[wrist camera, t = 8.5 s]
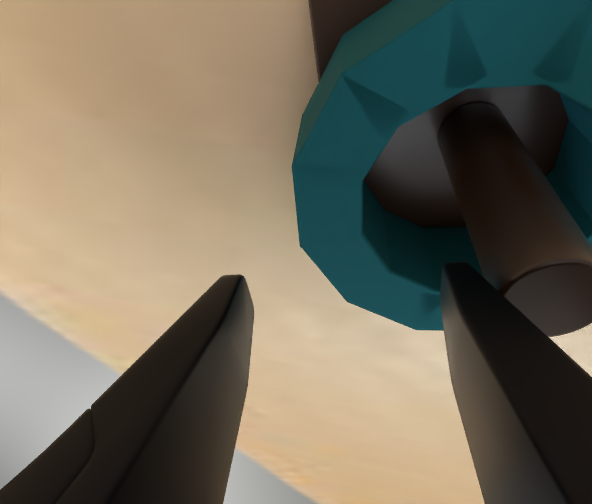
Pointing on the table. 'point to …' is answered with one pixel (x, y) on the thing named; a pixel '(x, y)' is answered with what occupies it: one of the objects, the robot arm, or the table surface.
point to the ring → (411, 103)
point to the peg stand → (484, 182)
